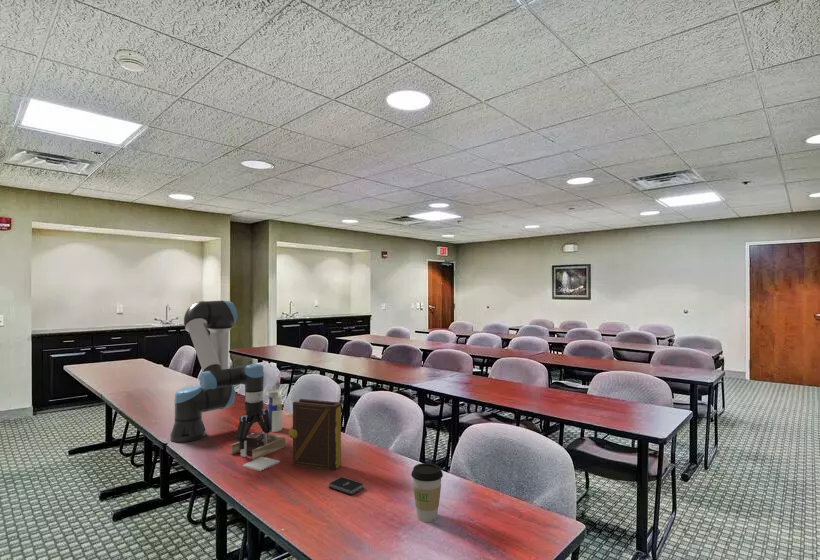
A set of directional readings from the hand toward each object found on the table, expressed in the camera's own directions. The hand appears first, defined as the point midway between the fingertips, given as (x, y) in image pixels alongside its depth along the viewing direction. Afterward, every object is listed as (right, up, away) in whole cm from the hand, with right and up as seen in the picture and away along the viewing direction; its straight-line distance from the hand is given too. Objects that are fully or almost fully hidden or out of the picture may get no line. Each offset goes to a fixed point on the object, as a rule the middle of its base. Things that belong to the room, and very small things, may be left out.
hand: (254, 451), depth 193 cm
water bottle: (0, -1, +31) cm, 31 cm away
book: (+29, 0, -13) cm, 32 cm away
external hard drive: (+45, 0, -35) cm, 57 cm away
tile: (+7, 0, -13) cm, 15 cm away
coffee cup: (+73, +1, -54) cm, 91 cm away
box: (0, 0, 0) cm, 0 cm away
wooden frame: (+1, 0, +2) cm, 2 cm away
